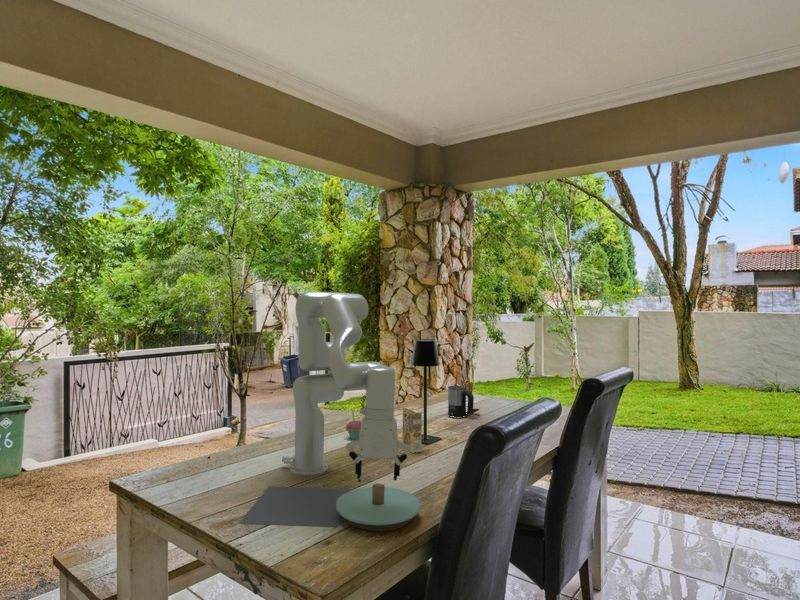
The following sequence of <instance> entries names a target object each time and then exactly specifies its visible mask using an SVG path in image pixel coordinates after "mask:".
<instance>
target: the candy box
mask: <svg viewBox="0 0 800 600" xmlns="http://www.w3.org/2000/svg"><path fill="white" fill-rule="evenodd" d="M422 414H423V412H422V411H420V410H418V409H415V408H413V407H404V408H403V407H402V442H403V443H404V444H406V445H408V446H410V447H411V451H410V453H412V454H416V453H421V452H422V433H423V431H422V426H423V425H422V424H423V423H422V420H423V419H422V418H423V417H422ZM415 452H416V453H415Z"/></svg>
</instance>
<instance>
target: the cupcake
mask: <svg viewBox="0 0 800 600" xmlns="http://www.w3.org/2000/svg"><path fill="white" fill-rule="evenodd" d="M351 415H352V421H350V422H348V423H347V424H346V426H345V429H346V431H347V432H348V435H349V439H350V440H352V441H354V440H357V439H359V436H360V427H361V422H362V421H358V420H355V413H354V410H353V409H351Z"/></svg>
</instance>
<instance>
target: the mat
mask: <svg viewBox="0 0 800 600" xmlns="http://www.w3.org/2000/svg"><path fill="white" fill-rule="evenodd" d="M349 491H352V488H337V487H336V488H333V487H329V488H328V487H306V486H305V487H304V486H302V487H301V486H278V485H277V486H274V485H273V486H269V485H268V487H267V488H266V489H265V490H264V492H263V493H262V494H261V496H259V498H258V499H257V500H256V502H254V504H253V505H252V507H250V509H249V510H248V511H247V513H246V514H245V515H244V516H243V518H242V519H240V522H238V524H239V525H262V526H263V525H264V526H288V527H289V526H290V527H293V526H295V527H316V528H317V527H318V528H338V527H339V524H340V522H341V519H342V516H341V515H339V513H338V512H337V510H336V502H337V500H338V498H339V497H340V496H342V495H343V494H345V493H347V492H349Z"/></svg>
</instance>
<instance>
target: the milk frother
mask: <svg viewBox="0 0 800 600" xmlns="http://www.w3.org/2000/svg"><path fill="white" fill-rule="evenodd" d="M447 389H448V392H447V395H448V397H447V398H448V408H447V409H448V410H447V416H448V415H449V416H454V417H463V416H466V417H467V416H468V415H472V414H474V413H476V412H479V411H480V409H479V408H474V399H475V398H474V395H473V392H471V391H468V390H466V389H467V387H466V386H463V385H449V386H447ZM466 413H467V414H466Z"/></svg>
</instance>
